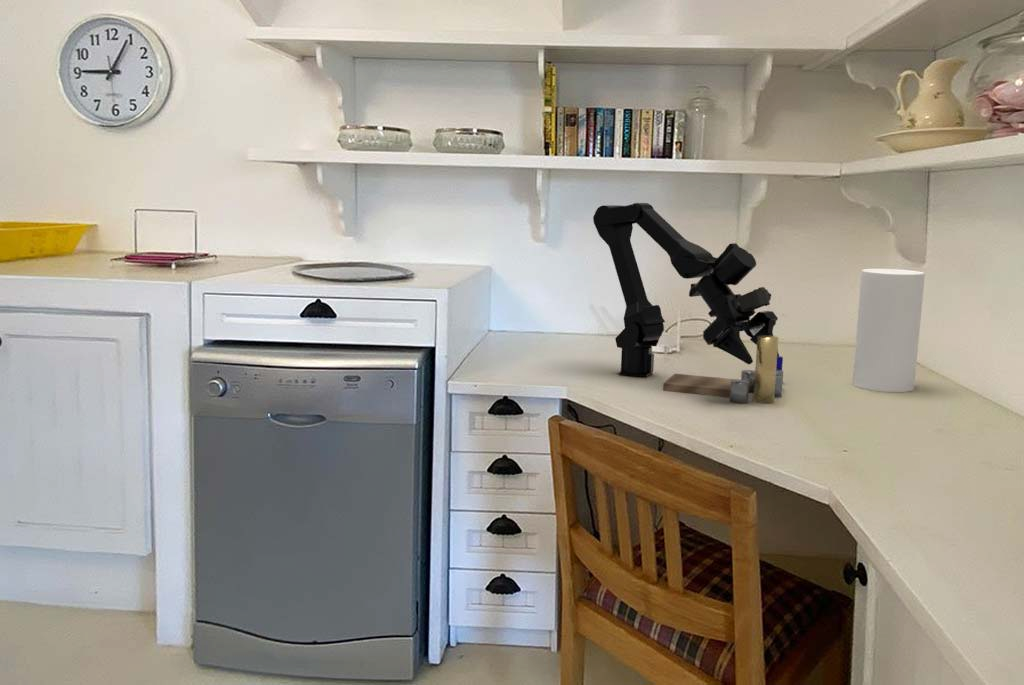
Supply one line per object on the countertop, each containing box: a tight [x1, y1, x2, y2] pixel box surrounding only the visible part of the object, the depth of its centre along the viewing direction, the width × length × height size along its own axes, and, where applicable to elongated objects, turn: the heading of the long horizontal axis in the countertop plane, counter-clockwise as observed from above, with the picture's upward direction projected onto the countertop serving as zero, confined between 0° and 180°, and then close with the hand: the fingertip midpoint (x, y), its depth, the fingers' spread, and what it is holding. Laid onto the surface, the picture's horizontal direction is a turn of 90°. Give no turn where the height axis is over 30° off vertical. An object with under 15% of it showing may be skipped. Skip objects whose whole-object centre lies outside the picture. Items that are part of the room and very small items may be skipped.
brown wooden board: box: [662, 373, 739, 398], centre depth 194 cm, size 14×11×2 cm
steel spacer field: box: [729, 369, 784, 404], centre depth 189 cm, size 9×18×4 cm, turn 158°
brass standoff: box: [752, 335, 779, 404], centre depth 183 cm, size 4×4×13 cm
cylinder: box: [852, 268, 926, 393], centre depth 198 cm, size 12×12×25 cm
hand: (764, 360), depth 183 cm, fingers open, 9 cm apart
